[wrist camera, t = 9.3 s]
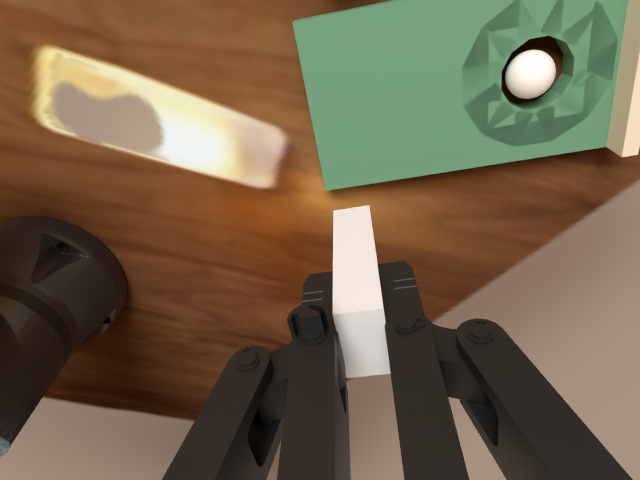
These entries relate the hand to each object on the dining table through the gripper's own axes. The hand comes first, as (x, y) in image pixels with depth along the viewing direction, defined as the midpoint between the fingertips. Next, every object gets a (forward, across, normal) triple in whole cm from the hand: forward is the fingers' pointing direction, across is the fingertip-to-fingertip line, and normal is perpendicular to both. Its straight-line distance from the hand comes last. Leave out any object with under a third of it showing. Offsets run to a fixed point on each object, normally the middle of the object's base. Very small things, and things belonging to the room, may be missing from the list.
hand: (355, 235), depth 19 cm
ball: (+21, +14, 0) cm, 25 cm away
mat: (+22, +9, 0) cm, 24 cm away
